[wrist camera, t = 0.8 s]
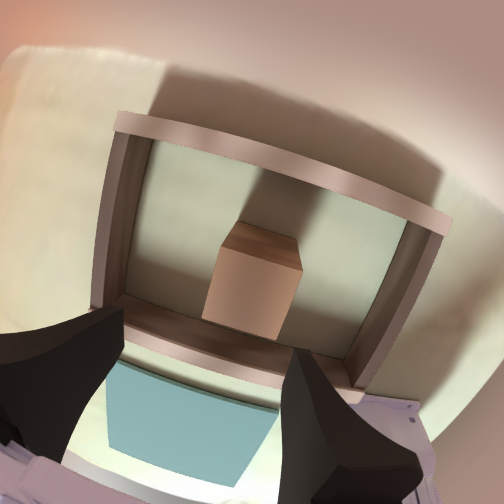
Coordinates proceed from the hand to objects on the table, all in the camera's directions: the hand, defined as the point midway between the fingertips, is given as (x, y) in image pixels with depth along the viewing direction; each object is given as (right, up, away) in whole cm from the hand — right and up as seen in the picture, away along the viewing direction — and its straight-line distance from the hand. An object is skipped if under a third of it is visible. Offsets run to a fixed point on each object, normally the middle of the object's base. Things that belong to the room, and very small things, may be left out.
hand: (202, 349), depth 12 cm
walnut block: (+2, +4, +9) cm, 10 cm away
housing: (+2, +4, +9) cm, 10 cm away
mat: (-6, -15, +15) cm, 22 cm away
